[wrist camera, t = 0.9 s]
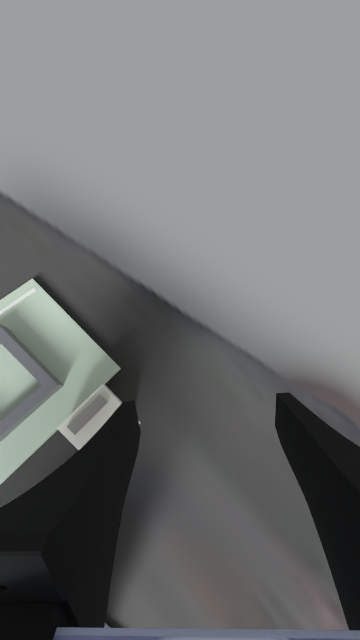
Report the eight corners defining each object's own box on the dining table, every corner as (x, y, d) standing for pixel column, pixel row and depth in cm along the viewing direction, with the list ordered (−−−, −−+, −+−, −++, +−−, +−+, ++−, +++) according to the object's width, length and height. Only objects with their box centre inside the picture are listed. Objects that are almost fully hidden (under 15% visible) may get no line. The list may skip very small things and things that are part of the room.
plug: (101, 448, 22) (97, 473, 16) (70, 417, 22) (54, 429, 16) (134, 414, 24) (141, 424, 18) (104, 384, 24) (102, 384, 18)
